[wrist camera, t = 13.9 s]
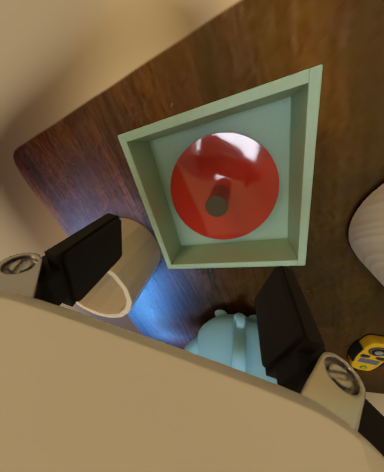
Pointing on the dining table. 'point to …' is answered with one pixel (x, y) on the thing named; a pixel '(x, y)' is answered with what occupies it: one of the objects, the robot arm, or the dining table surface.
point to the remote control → (367, 353)
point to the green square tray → (264, 132)
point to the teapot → (231, 343)
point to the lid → (224, 185)
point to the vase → (370, 233)
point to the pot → (125, 273)
